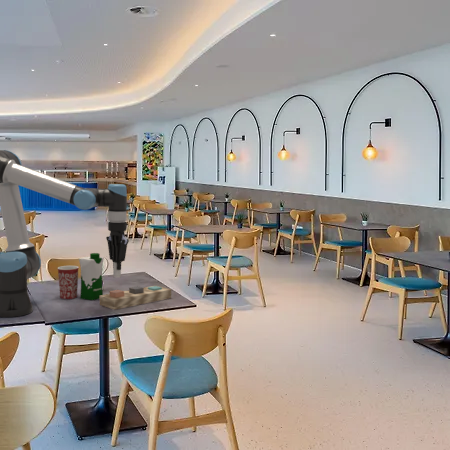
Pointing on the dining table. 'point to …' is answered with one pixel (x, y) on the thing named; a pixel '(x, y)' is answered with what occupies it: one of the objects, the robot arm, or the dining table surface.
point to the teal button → (154, 288)
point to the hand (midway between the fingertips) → (117, 277)
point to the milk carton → (91, 276)
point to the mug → (68, 281)
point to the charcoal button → (136, 290)
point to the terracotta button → (116, 293)
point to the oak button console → (134, 298)
